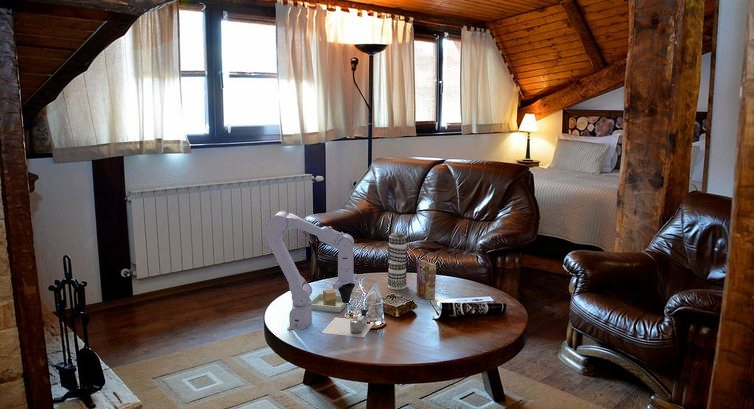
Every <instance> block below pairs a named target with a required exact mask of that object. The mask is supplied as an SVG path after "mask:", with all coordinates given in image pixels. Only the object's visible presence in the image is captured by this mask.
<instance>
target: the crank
mask: <svg viewBox="0 0 754 409" xmlns="http://www.w3.org/2000/svg"><path fill="white" fill-rule="evenodd" d="M360 312H361V314H360V315H359V316H358V317H357V318H354V320H351V321H350V332H351V333H353V334H360V333H362V327H363V326H364V324H365V323H366V322H367V321H368V313H369V309H365V308H364V309H363V308H360Z"/></svg>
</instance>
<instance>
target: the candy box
mask: <svg viewBox="0 0 754 409" xmlns="http://www.w3.org/2000/svg"><path fill="white" fill-rule="evenodd" d="M416 263H417V264H416V293H415V294H416V295H417V296H419V297H420V298H423V299H425V300H428V301H429V300H430V301H431V300H434V299H436V283H437V282H436V281H437V276H436V275H437V264H436V263H433V262H431V261H428V260H426V259H421V260H417V261H416Z"/></svg>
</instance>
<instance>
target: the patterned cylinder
mask: <svg viewBox="0 0 754 409" xmlns="http://www.w3.org/2000/svg"><path fill="white" fill-rule="evenodd" d="M388 238H389V239H388V241H389V242H388V244H387V259H388V261H387V262H388V271H387V274H388V275H387V277H388V278H387V288H388V289H390V290H391V289H392V290H398V291H400V290H405V289H406V288H407V284H408V283H407V280H408V279H407V274H408V273H407V268H406V263H408V260H407V259H408V257H407V255H408V254H409V253H408V252H407V251H408V248H407V235H406V234H405V233H404V232H400V231H394V232H392V233H391V234H389V235H388Z"/></svg>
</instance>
